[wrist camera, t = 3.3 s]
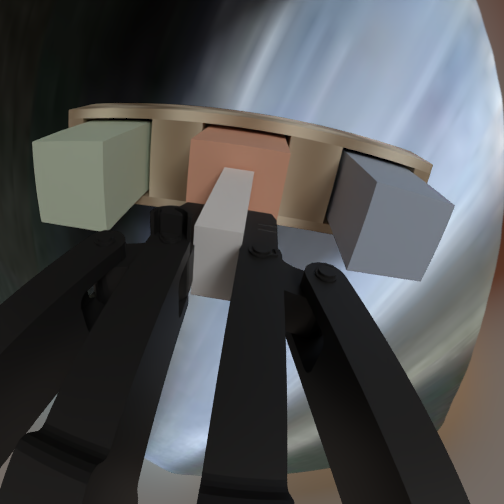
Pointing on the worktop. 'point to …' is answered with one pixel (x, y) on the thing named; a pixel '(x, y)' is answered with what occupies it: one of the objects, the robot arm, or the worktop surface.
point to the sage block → (92, 172)
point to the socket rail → (297, 132)
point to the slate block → (385, 217)
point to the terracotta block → (239, 164)
